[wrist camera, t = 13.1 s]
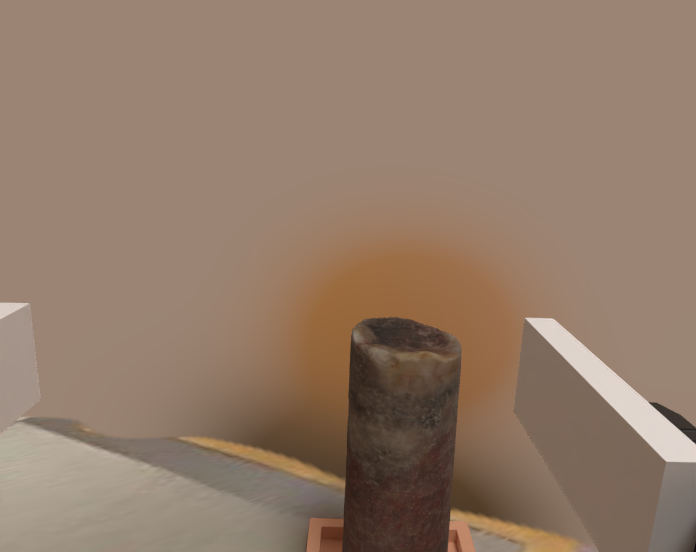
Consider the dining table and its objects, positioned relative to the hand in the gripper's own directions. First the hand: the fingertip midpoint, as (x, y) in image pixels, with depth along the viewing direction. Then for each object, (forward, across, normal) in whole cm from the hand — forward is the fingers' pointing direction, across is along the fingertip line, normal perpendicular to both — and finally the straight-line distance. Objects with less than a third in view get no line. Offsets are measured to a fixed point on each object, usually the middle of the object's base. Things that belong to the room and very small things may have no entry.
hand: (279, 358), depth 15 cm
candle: (+19, +6, -26) cm, 33 cm away
